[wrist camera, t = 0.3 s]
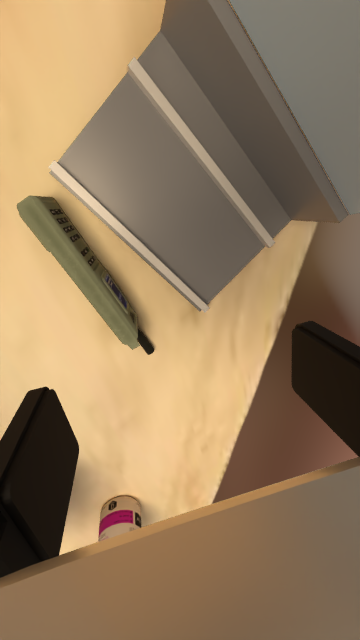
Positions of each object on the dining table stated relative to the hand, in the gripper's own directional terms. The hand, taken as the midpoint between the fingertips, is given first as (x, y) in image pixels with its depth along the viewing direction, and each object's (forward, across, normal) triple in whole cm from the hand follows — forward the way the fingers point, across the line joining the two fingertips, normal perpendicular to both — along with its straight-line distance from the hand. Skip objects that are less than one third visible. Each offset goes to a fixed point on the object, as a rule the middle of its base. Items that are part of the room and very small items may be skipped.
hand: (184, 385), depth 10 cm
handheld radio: (+30, +6, +2) cm, 30 cm away
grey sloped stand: (+29, -8, -8) cm, 31 cm away
